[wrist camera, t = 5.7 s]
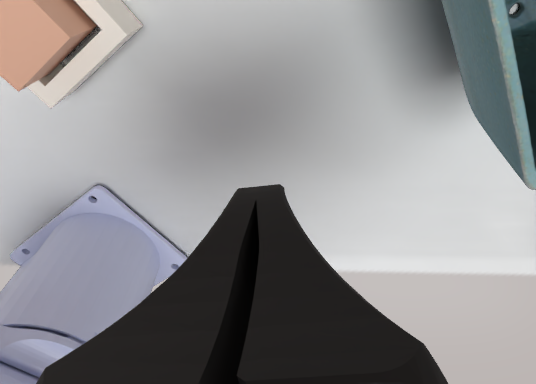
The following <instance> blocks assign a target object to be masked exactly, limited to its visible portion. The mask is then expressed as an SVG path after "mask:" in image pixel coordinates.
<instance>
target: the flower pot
mask: <svg viewBox="0 0 536 384" xmlns="http://www.w3.org/2000/svg"><path fill="white" fill-rule="evenodd" d="M441 1H442V4H443V8H444V12H445V15H446V19H447V23H448V26H449V30H450V34H451V38H452V42H453V45H454V49H455V53H456V57H457V61H458V65H459V69H460V73H461V77H462V81H463V85H464V89H465V92H466V95H467V98H468V101H469V104H470V106H471V109H472V111H473V113H474V115H475V117H476V118H477V120H478V121H479V123H480V124H481V126H482V127H483V129H484V130H485V131H486V133H487V134H488V136H489V137H490V138H491V140H492V141H493V143H494V144H495V145H496V147H497V148H498V149H499V151H500V152H501V153H502V155H503V156H504V157H505V159H506V160H507V161H508V163H509V164H510V165H511V167H512V168H513V169H514V170H515V172H516V173H517V174H518V176H519V177H520V178H521V179H522V181H523V182H524V183H525V185H526V186H527V187H528V188H529V189H532V190H536V0H441ZM515 3H518V4H519V5H520V9H519V11H518V12H517V13H516V14H514V15H510V14H509V11H510V8H511V7H512V6H513V5H514V4H515Z"/></svg>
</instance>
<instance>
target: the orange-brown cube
mask: <svg viewBox="0 0 536 384" xmlns="http://www.w3.org/2000/svg"><path fill="white" fill-rule="evenodd" d="M96 26H97V25H96V24H95V23H94V22H93V21H92V20H91V19H90V18H89V17H88V16H87V15H86V14H85V13H84V11H83V10H82V9H81V8H80V7H79V6H78V5H77V4H76V3H75V2H74V1H73V0H0V76H1V77H3V78H4V79H5V80H6V81H7V82H8V83H9V84H11V85H12V86H13V87H14V88H15V89H16V90H17V91H20V90H22V89H24V88H25V87H27V86H29V85H31V84H32V83H34V82H36V81H38V80H39V79H41V78H43V77H45V76H46V75H48V74H50V73H51V72H52V71H53V70H54V69H55V68H56V67H57V66H58V65H59V64H60V63H61V62H62V61H63V60H64V59H65V58H66V57H67V56H68V55H69V54H70V53H71V52H72V51H73V50H74V49H75V48H76V46H77V45H78V44H79V43H80V42H81V41H82V40H83V39H84V38H85V37H86V36H87V35H88V34H89V33H90V32H91V31H92V30H93V29H94V28H95V27H96Z"/></svg>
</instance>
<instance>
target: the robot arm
mask: <svg viewBox="0 0 536 384" xmlns="http://www.w3.org/2000/svg"><path fill="white" fill-rule="evenodd" d="M91 196H94V197H96V199H97V200H96V199H93V198H92V197H91ZM10 258H11V260H13V261H14V262H15V263H17V264H18V265H20V266H21V267H20V268H19V269H18V270H17V272H16V273H15V274H14V275H13V277H12V278H11V279H10V281H9V282H8V283H7V284H6V286H5V287H4V288H3V289H2V291H1V292H0V384H448V382H447V381H446V379H445V377H444V375H443V374H442V372H441V370H440V368H439V367H438V365H437V363H436V362H435V360H434V359H433V357H432V355H431V354H430V352H429V351H428V349H427V348H426V346H425V345H424V344H423V343H422V342H420V341H419V340H417V339H416V338H415V337H413V336H412V335H410V334H409V333H407V332H406V331H404V330H403V329H402V328H400V327H399V326H398V325H396V324H395V323H393V322H392V321H391V320H390V319H388V318H387V317H386V316H384V315H383V314H382V313H381V312H379V311H378V310H377V309H375V308H374V307H373V306H372V305H371V304H370V303H368V302H367V301H366V300H365V299H364V298H363V297H362V296H361V295H360V294H358V293H357V292H356V291H355V290H354V289H353V288H352V287H351V286H350V285H349V284H348V283H347V282H345V281H344V280H343V279H342V278H341V276H339V274H338V273H337V272H336V271H335V270H334V269H333V268H332V267H331V266H330V265H329V263H328V262H327V261H326V260H325V259H324V258H323V257H322V255H321V254H320V253H319V252H318V250H317V249H316V248H315V246H314V245H313V244H312V242H311V241H310V239H309V238H308V237H307V235H306V234H305V232H304V231H303V229H302V228H301V226H300V224H299V222H298V221H297V219H296V217H295V216H294V214H293V212H292V210H291V208H290V206H289V203H288V201H287V199H286V196H285V192H284V187H283V186H281V185H280V184H278V185H268V186H259V187H249V188H239V189H238V190H237V191H236V192H235V193H234V195H233V197H232V198H231V200H230V201H229V203H228V205H227V206H226V208H225V209H224V211H223V212H222V214H221V215H220V217H219V218H218V220H217V221H216V222H215V224H214V225H213V227H212V228H211V229H210V231H209V232H208V234H207V235H206V236H205V237H204V239H203V240H202V241H201V242H200V244H199V245H198V246H197V247H196V249H195V250H194V251H193V252H192V253H191V255H190V256H189V257H188V258H187V257H186V256H185V255H184V254H182V253H181V252H180V251H179V250H178V249H177V248H175V247H174V246H173V245H172V244H171V243H169V242H168V241H167V240H166V239H165V238H164V237H162V236H161V235H160V234H159V233H158V232H157V231H155V230H154V229H153V228H152V227H151V226H149V225H148V224H147V223H146V222H145V221H144V220H142V219H141V218H140V217H139V216H138V215H136V214H135V213H134V212H133V211H132V210H131V209H129V208H128V207H127V206H126V205H125V204H124V203H122V202H121V201H120V200H119V199H118V198H116V197H115V196H114V195H113V194H112V193H111V192H109V191H108V190H107V189H106V188H104V187H103V186H94V187H93V188H91V189H90V190H89V191H88V192H86V193H85V194H84V195H83V196H81V197H80V198H79V199H78V200H76V201H75V202H74V203H73V204H71V205H70V206H69V207H68V208H66V209H65V210H64V211H62V212H61V213H60V214H59V215H57V216H56V217H55V218H54V219H52V220H51V221H50V222H49V223H47V224H46V225H45V226H44V227H42V228H41V229H40V230H39V231H37V232H36V233H35V234H34V235H32V236H31V237H30V238H29V239H27V240H26V241H25V242H23V243H22V244H21V245H20V246H18V247H17V248H16V249H15V250H13V252H12V253H11V254H10ZM174 264H177V265H174ZM168 277H169V278H168ZM167 278H168V279H167ZM165 279H167V280H166V281H165V282H164V283H163V284H161V285H160V286H159V287H158V288H157V289H156V290H154V291H153V292H152V293H151V291H152V288H153V286H155V285H157V284H158V283H160V282H161V281H163V280H165Z"/></svg>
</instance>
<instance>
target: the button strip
mask: <svg viewBox="0 0 536 384" xmlns="http://www.w3.org/2000/svg"><path fill="white" fill-rule="evenodd" d="M74 1H75V2H76V3H77V4H78V5H79V6H80V7H81V8H82V9H83V10H84V11H85V12H86V13H87V15H88V16H89V17H90V18H91V19H92V20H93V21H94V22H95V23H96V24H97V25H98V26H99V27H100V29H101V31H100V32H99V33H98V34H97V35H96V36H95V37H94V38H93V39H92V40H91V41H90V42H89V43H88V44H87V45H86V46H85V47H84V48H83V49H82V50H81V51H80V52H79V53H78V54H77V55H76V56H75V57H74V58H73V59H72V60H71V61H70V62H69V63H68V64H67V65H66V66H65V67H63V66H62V65H61V64H59V65H58V66H57V67H56V68H55V69H54V70H53V71H52V72H51V73H50V74H48V75H46V76H45V77H43V78H41V79H39V80H38V81H36V82H34V83H32V84H31V85H29V86H27V88H28V89H29V90H31V91H32V92H33V93H34V94H35V95H36V96H37V97H38V98H39V99H41V100H42V101H43V102H44V103H45V104H46V105H47V106H48V107H50V108H52V107H54V106H55V105H56V104H58V103H59V102H61V101H62V100H63V99H65V98H66V97H67V96H69V95H70V94H71V93H73V92H74V91H75V90H76V89H77V88H78V87H79V86H80V85H81V84H82V83H83V82H84V81H85V80H86V79H88V78H89V77H90V76H91V75H92V74H93V73H94V72H95V71H96V70H97V69H98V68H99V67H100V66H101V65H102V64H103V63H104V62H105V61H106V60H107V59H109V58H110V57H111V56H112V55H113V54H114V53H115V52H116V51H117V50H118V49H119V48H120V47H121V46H122V45H123V44H124V43H125V42H126V41H127V40H128V39H130V38H131V37H132V36H133V35H134V34H135V33H136V32H137V31H138V30H139V29H140V28H141V27H142V26H143V24H142V23H141V22H140V21H139V20H138V19H137V18H136V16H135V15H134V14H133V13H132V12H131V11H130V10H129V8H128V7H127V6H126V5H125V4H124V3H123V1H122V0H74Z"/></svg>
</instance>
